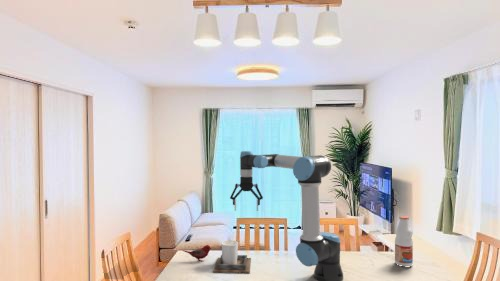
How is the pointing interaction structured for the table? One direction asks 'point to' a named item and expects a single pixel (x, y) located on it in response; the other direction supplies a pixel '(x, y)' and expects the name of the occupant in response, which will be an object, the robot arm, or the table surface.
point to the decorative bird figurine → (200, 252)
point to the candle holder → (229, 252)
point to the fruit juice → (403, 243)
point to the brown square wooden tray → (233, 265)
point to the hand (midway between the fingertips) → (246, 210)
